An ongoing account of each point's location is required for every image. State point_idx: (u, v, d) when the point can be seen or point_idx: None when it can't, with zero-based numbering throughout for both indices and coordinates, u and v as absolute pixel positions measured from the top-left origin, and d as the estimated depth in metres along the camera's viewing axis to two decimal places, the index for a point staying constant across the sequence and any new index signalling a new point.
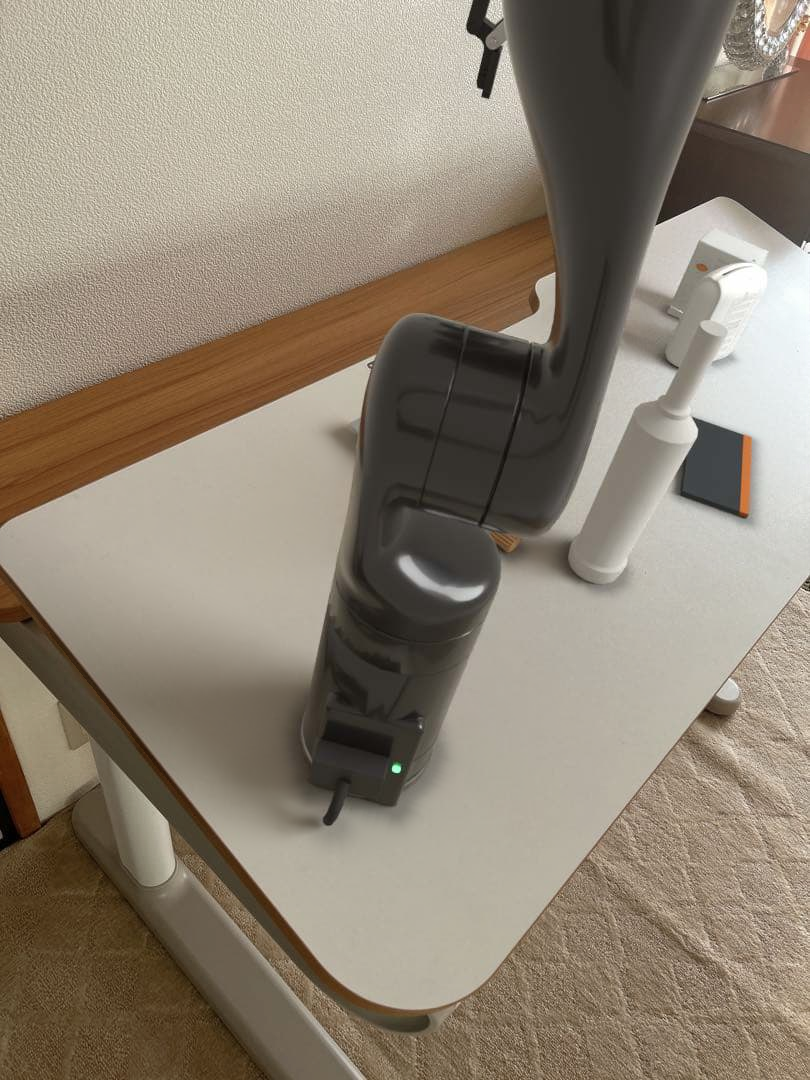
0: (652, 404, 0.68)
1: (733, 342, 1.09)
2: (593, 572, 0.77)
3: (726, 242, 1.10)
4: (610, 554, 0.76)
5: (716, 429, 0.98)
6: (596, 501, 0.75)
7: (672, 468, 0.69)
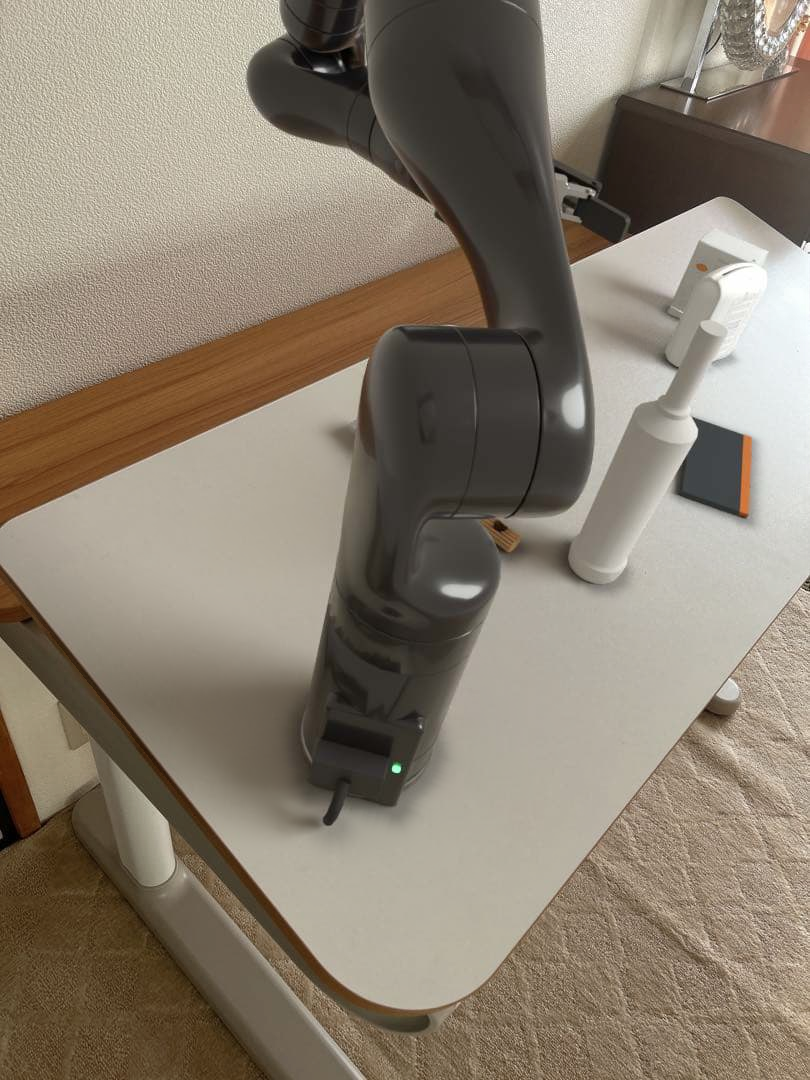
0: (652, 404, 0.68)
1: (733, 342, 1.09)
2: (593, 572, 0.77)
3: (726, 242, 1.10)
4: (610, 554, 0.76)
5: (716, 429, 0.98)
6: (596, 501, 0.75)
7: (672, 468, 0.69)
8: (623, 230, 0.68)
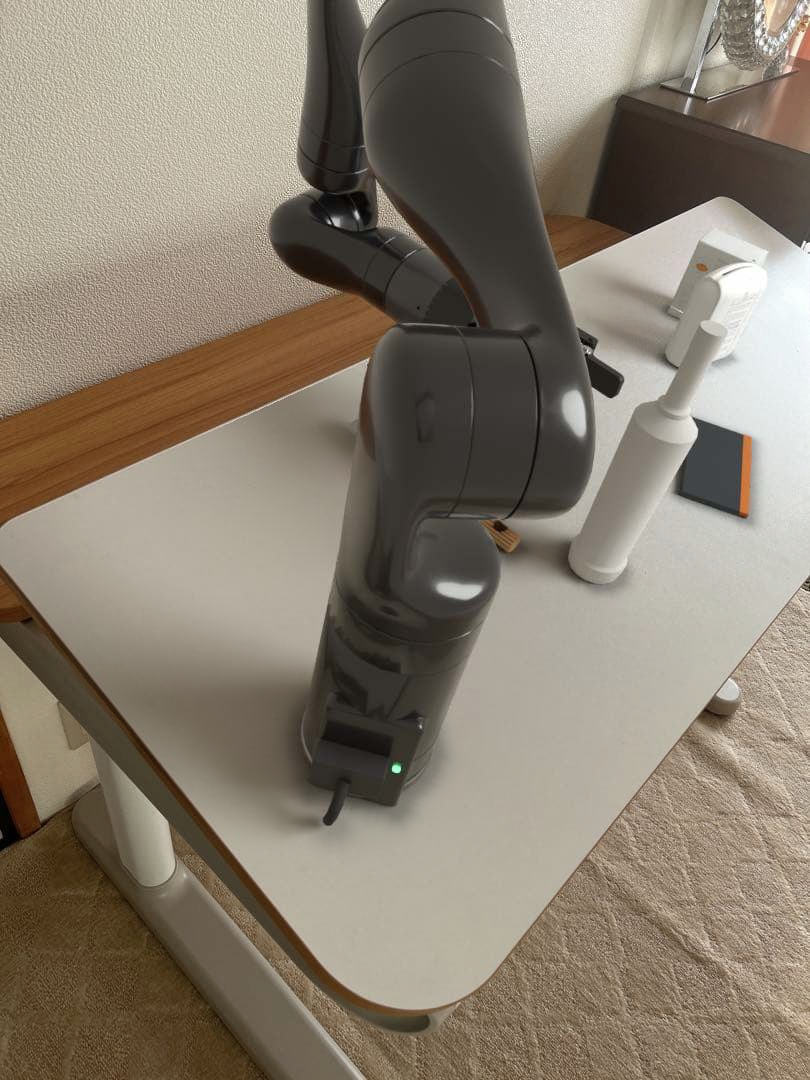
0: (652, 404, 0.68)
1: (733, 342, 1.09)
2: (593, 572, 0.77)
3: (726, 242, 1.10)
4: (610, 554, 0.76)
5: (716, 429, 0.98)
6: (596, 501, 0.75)
7: (672, 468, 0.69)
8: (618, 388, 0.75)
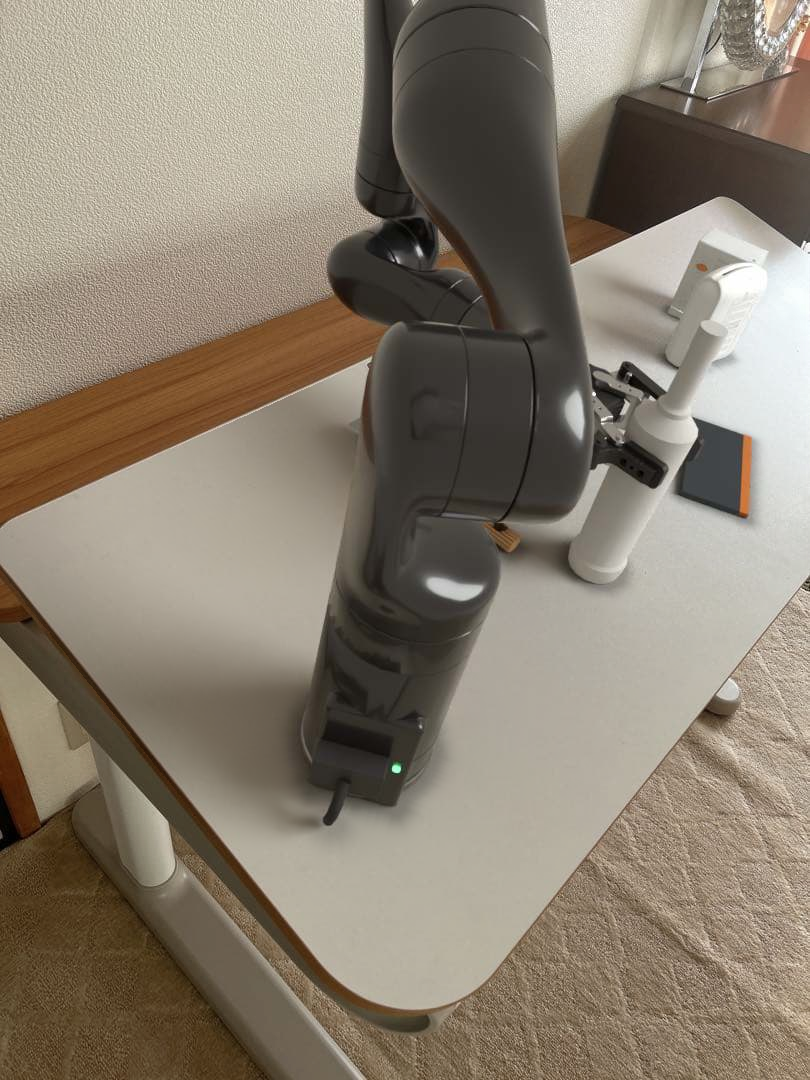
0: (652, 404, 0.68)
1: (733, 342, 1.09)
2: (593, 572, 0.77)
3: (726, 242, 1.10)
4: (610, 554, 0.76)
5: (716, 429, 0.98)
6: (596, 501, 0.75)
7: (672, 467, 0.69)
8: (697, 451, 0.71)
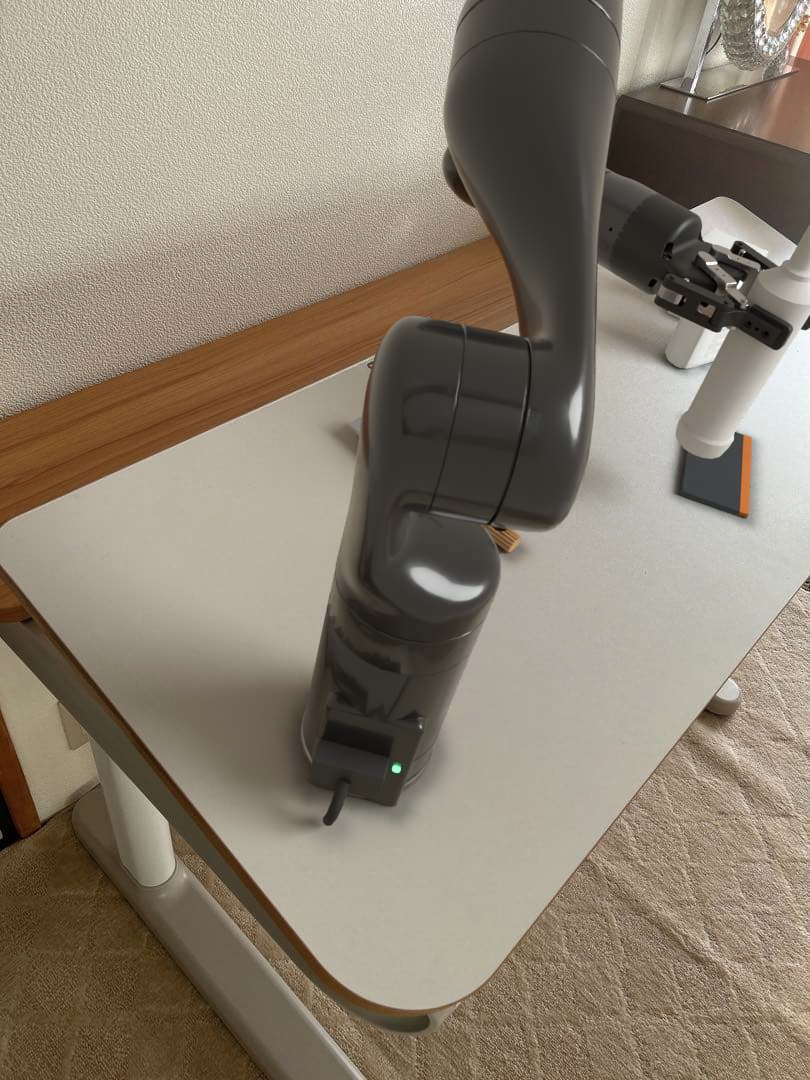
0: (776, 268, 0.71)
1: None
2: (703, 445, 0.80)
3: (726, 242, 1.10)
4: (721, 426, 0.79)
5: None
6: (711, 373, 0.78)
7: (793, 331, 0.72)
8: None
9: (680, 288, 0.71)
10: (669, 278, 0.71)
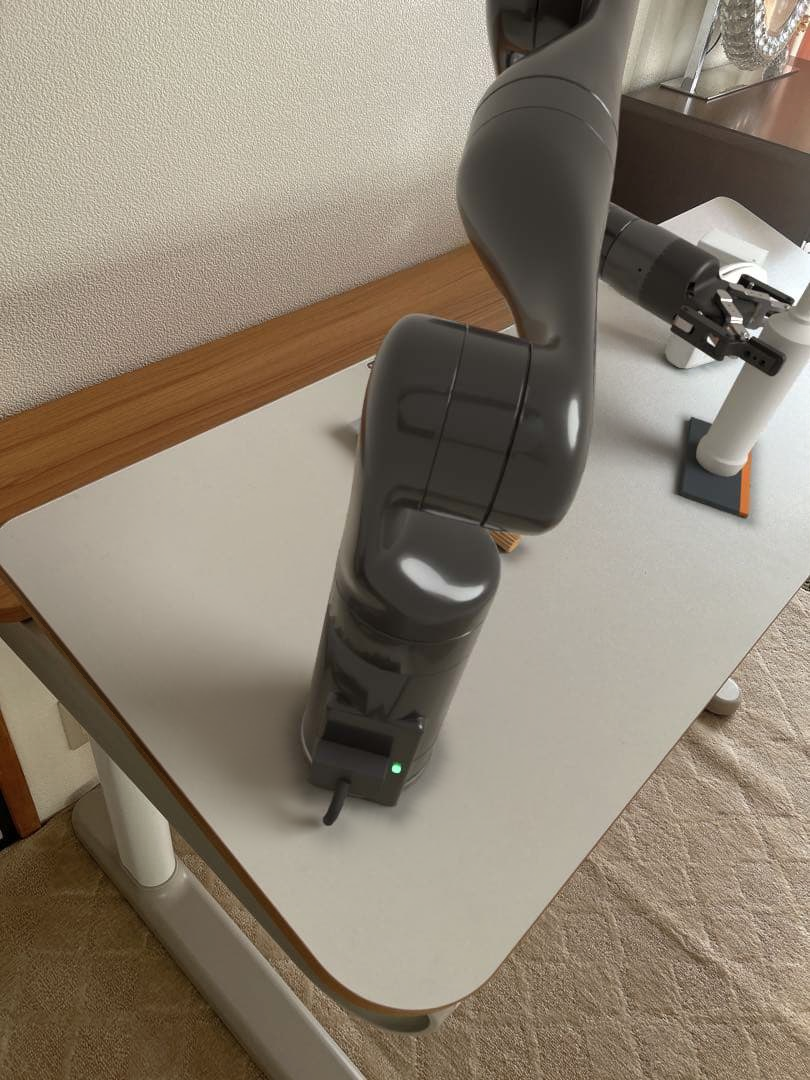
0: (784, 313, 0.82)
1: None
2: (720, 465, 0.91)
3: (726, 242, 1.10)
4: (737, 448, 0.90)
5: None
6: (727, 402, 0.89)
7: (799, 367, 0.83)
8: None
9: (690, 318, 0.82)
10: (683, 309, 0.82)
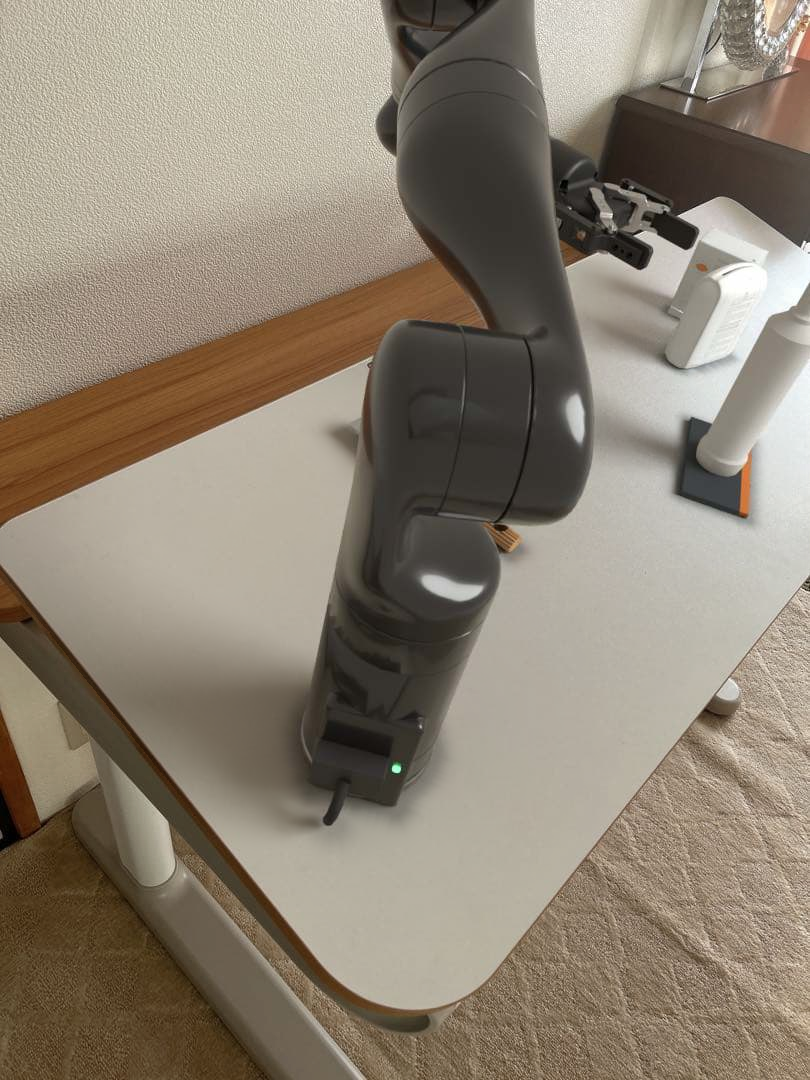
0: (784, 313, 0.82)
1: (733, 342, 1.09)
2: (720, 465, 0.91)
3: (726, 242, 1.10)
4: (737, 448, 0.90)
5: None
6: (727, 402, 0.89)
7: (799, 367, 0.83)
8: (693, 239, 0.84)
9: (558, 212, 0.81)
10: None
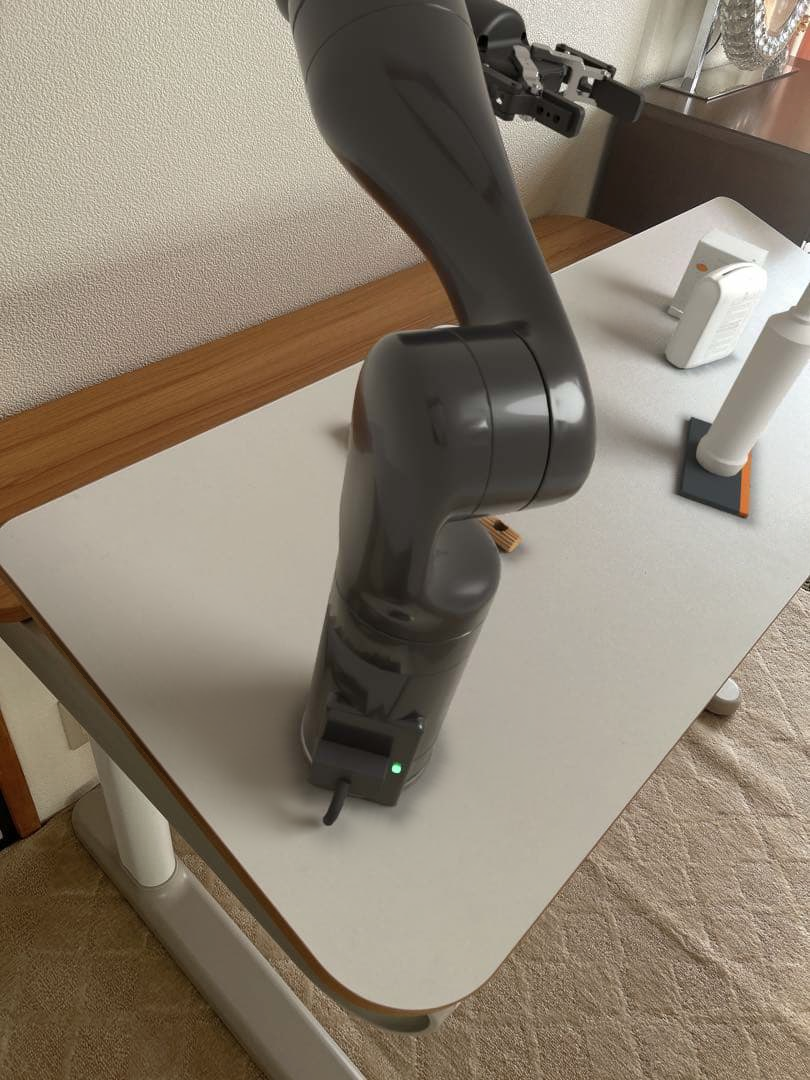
0: (784, 313, 0.82)
1: (733, 342, 1.09)
2: (720, 465, 0.91)
3: (726, 242, 1.10)
4: (737, 448, 0.90)
5: None
6: (727, 402, 0.89)
7: (799, 367, 0.83)
8: (638, 107, 0.71)
9: None
10: None
